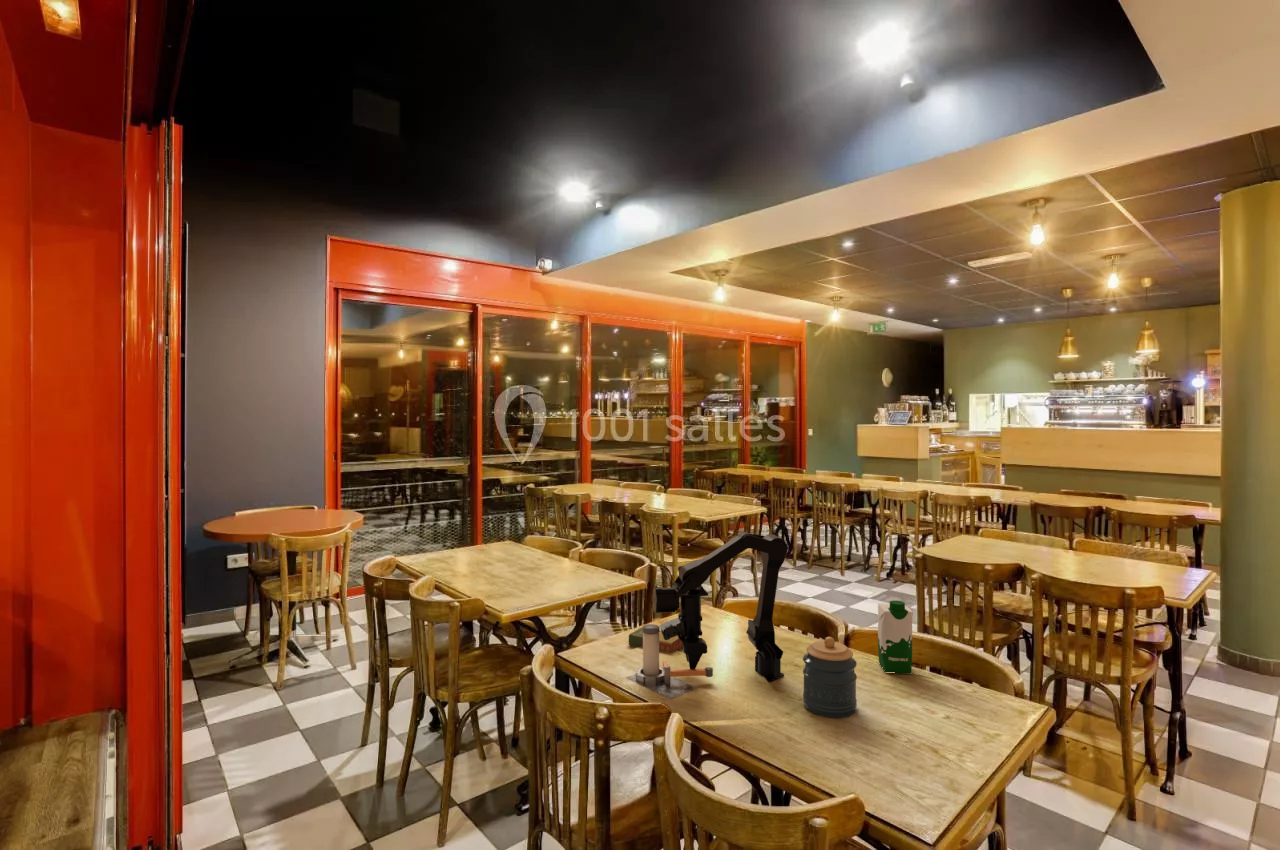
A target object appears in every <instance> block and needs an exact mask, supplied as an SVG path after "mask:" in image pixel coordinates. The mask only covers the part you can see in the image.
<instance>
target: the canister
mask: <svg viewBox="0 0 1280 850" xmlns="http://www.w3.org/2000/svg"><path fill="white" fill-rule="evenodd" d="M805 650H806V653H805V654H804V655H803V656H802V661H803V662H804V667H803V670H802V674H803V694H802V700H803V705H804V707H805V708H806V709H807V710H808V711H810V712H811V713H813V714H816V715H818V716H821V717H826V718H836V719H839V718H841V719H842V718H847V717H849V716H852V715H854V714H855V712H856V709H857V704H858V703H857V702H858V701H857V678H858V677H857V673H856V672H855V669H856V668H857V665H858V662H857V660H856V659H855V658H854V657H853V656H854V652H853V651H852V649H851V648H849V647H847V646H846V644H843V643H841V642H839V641H835V639H834V638H833V637H832V636H827V637H825V639H824V640H817V641H814V642H812V644H809V645H807V647H806V649H805Z"/></svg>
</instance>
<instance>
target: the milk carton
mask: <svg viewBox="0 0 1280 850" xmlns="http://www.w3.org/2000/svg"><path fill="white" fill-rule="evenodd" d="M913 613H914V612H913V611H912V610H911V609H910V608H909V606H906V604H905V602H904V601H901V600H890V601H889V603H877V619H878V620H877V651H878V664H879V663H880V664H879V666H880V665H881V666H882V667H883V669H884V670H885V671H884V670H883V669H882V670H883V671H884V673H885V672H895V673H911V674H912V670H913V669H912V666H913V665H912V664H913ZM881 666H880V667H881ZM882 667H881V668H882Z"/></svg>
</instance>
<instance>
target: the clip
mask: <svg viewBox="0 0 1280 850" xmlns="http://www.w3.org/2000/svg"><path fill="white" fill-rule="evenodd" d="M662 668H664V672H665V684H667V685H669V684H670V677H674V678H676V677H702V676H705V677H706V678H711V677H713V675H714V669H713V667H710V666H708V667H704V668H695V669H690V668H682V669H680V668H679V669H671V666H669V663H668V660H664V661H662Z"/></svg>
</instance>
